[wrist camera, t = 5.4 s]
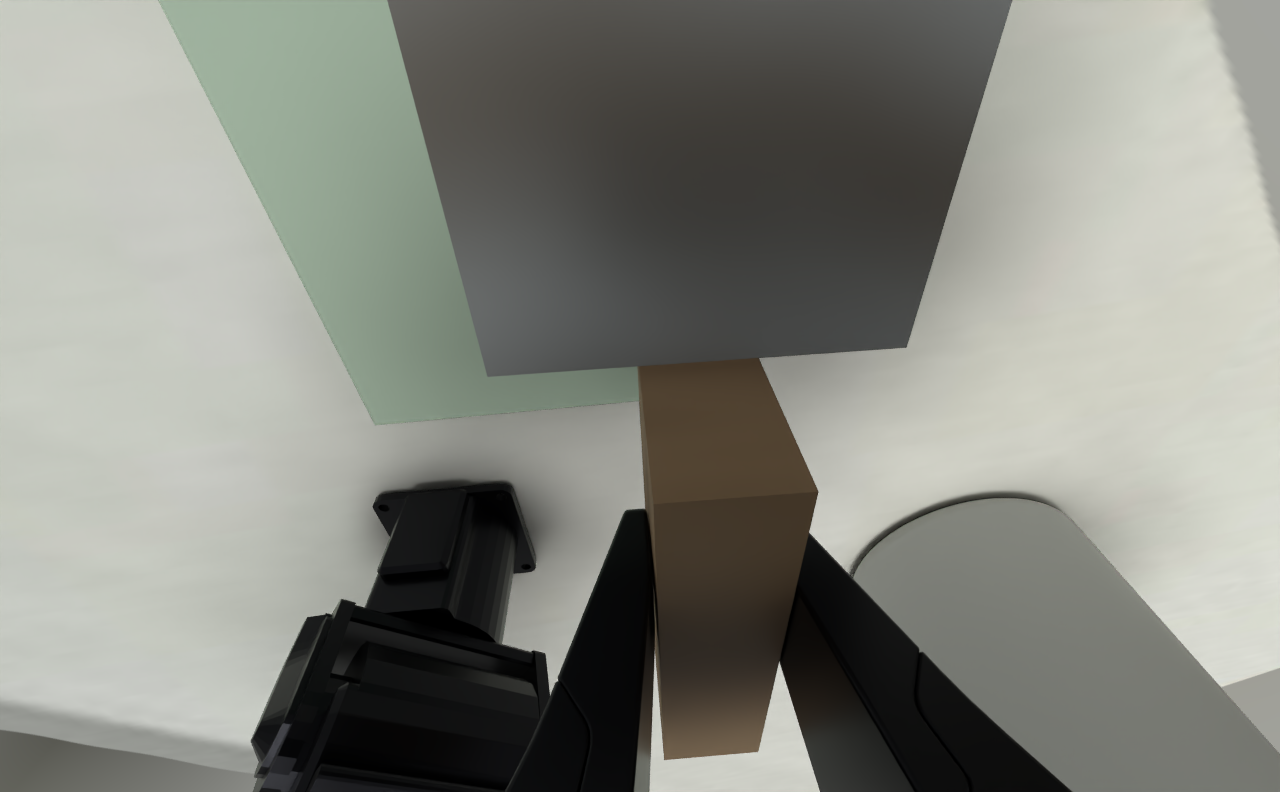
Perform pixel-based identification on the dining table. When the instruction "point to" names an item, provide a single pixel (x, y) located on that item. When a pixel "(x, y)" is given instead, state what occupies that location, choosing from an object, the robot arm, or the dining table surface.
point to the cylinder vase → (1063, 652)
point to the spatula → (700, 253)
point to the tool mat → (360, 202)
